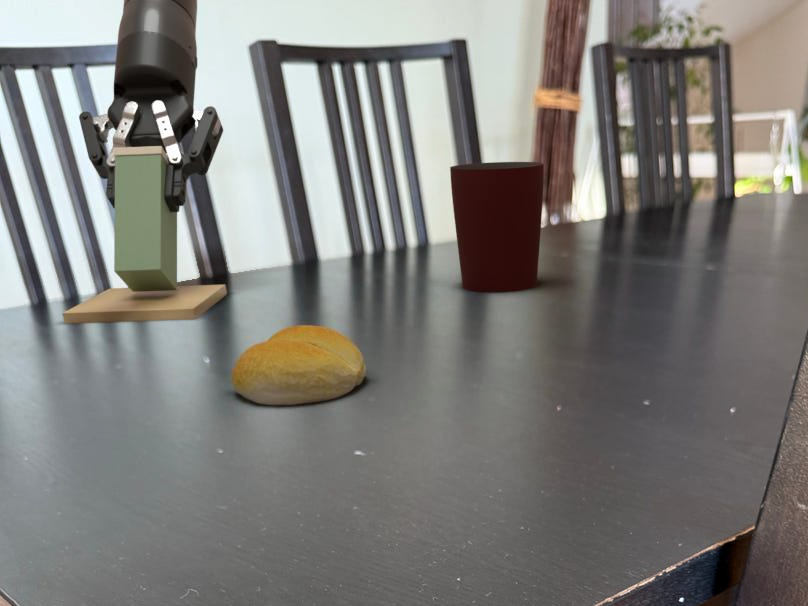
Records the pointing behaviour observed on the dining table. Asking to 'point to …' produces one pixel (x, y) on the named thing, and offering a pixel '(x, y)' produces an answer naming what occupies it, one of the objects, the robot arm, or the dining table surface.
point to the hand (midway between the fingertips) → (145, 206)
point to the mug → (498, 224)
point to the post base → (146, 305)
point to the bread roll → (299, 367)
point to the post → (144, 221)
